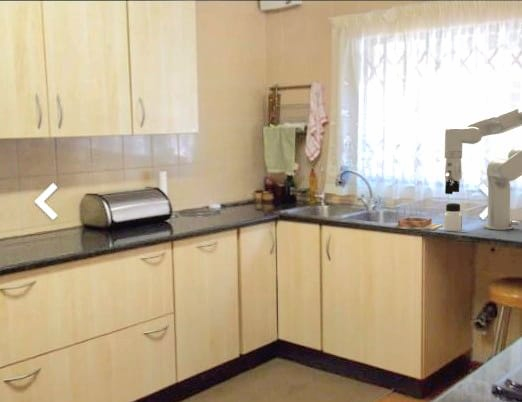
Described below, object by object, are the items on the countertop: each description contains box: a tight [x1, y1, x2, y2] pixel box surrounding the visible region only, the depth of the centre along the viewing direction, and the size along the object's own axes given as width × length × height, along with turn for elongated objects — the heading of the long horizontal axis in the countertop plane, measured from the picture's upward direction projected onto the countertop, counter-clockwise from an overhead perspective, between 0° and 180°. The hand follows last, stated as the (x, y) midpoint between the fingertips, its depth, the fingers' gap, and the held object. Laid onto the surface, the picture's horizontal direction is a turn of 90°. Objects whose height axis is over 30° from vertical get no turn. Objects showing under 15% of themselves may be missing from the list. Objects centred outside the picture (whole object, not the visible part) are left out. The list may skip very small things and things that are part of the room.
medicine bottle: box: [443, 202, 463, 232], centre depth 295 cm, size 7×7×12 cm
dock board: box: [395, 216, 444, 232], centre depth 304 cm, size 18×14×4 cm
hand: (452, 192), depth 293 cm, fingers open, 9 cm apart
